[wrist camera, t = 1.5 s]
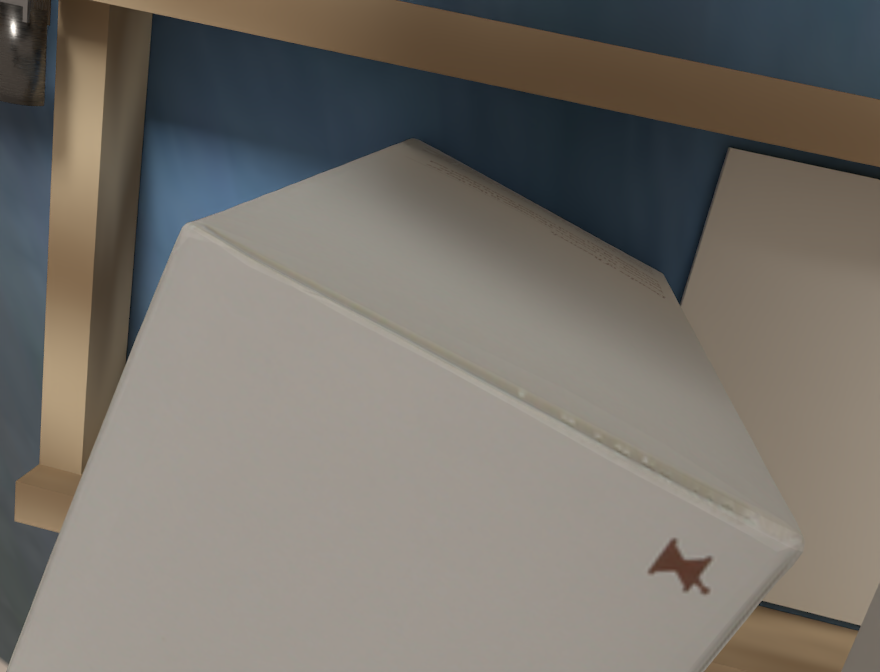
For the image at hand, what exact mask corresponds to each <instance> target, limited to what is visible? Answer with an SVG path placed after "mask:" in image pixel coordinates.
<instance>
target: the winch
mask: <svg viewBox="0 0 880 672" xmlns="http://www.w3.org/2000/svg"><path fill="white" fill-rule="evenodd" d="M50 12H51V0H0V101H3V102H8V103H13V104H20V105H28V106H44V99H45V72H46V45H47V25H50Z"/></svg>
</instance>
